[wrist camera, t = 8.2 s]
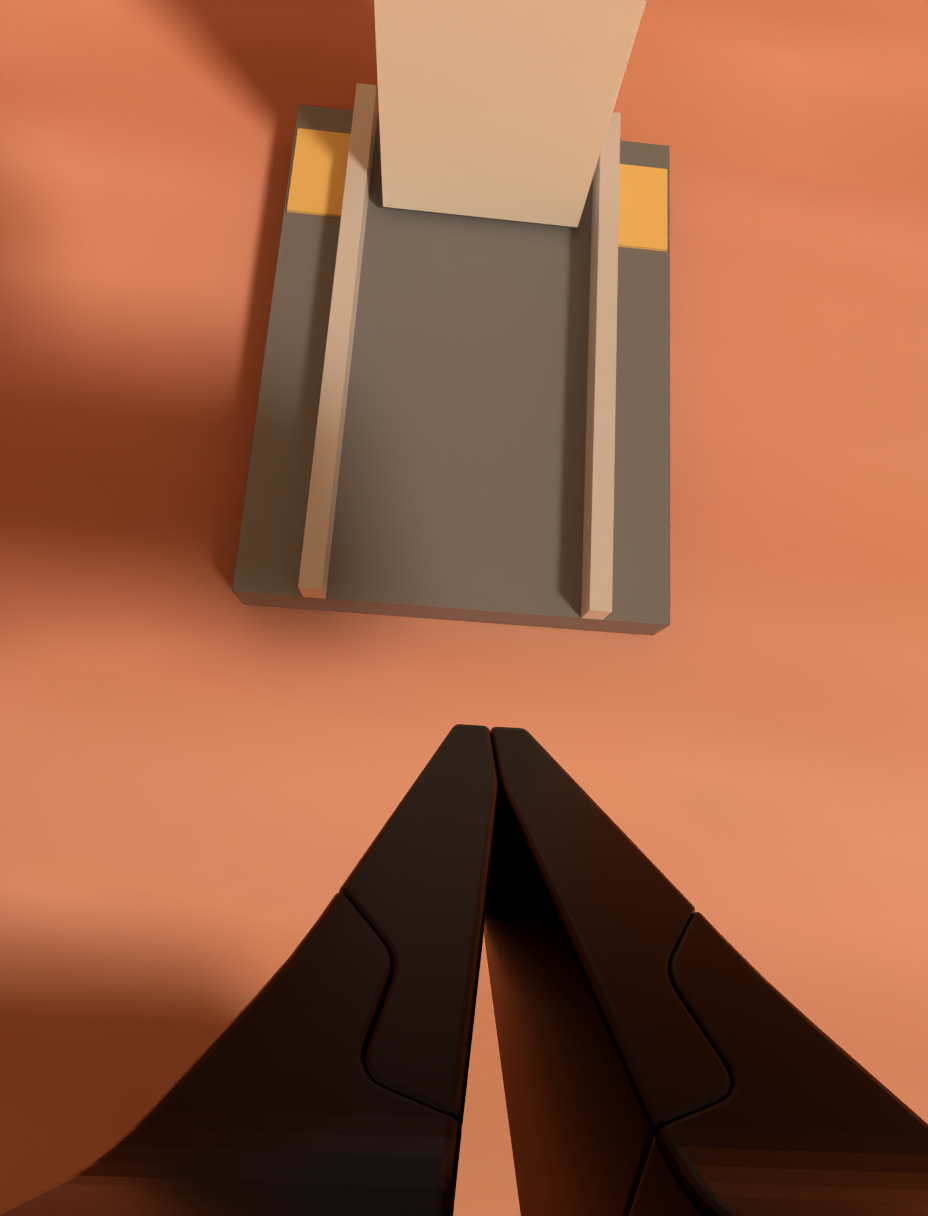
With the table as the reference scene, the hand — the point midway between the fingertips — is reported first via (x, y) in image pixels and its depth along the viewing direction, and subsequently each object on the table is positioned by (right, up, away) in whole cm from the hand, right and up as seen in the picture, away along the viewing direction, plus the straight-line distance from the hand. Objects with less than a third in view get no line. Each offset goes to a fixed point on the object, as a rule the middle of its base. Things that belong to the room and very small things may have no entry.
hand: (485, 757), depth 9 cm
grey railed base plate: (0, +9, +15) cm, 18 cm away
